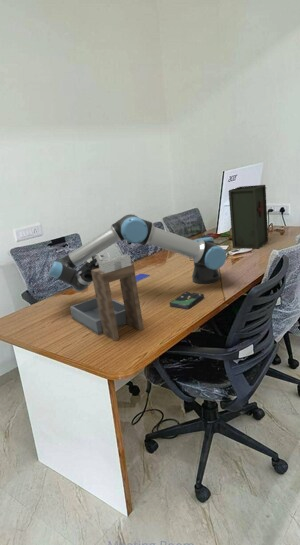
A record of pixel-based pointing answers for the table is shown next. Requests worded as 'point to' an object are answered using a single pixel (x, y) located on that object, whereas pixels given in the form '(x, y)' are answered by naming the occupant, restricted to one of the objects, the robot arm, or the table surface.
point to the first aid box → (248, 216)
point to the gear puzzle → (217, 236)
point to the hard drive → (141, 277)
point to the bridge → (106, 303)
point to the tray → (96, 314)
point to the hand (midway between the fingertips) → (104, 255)
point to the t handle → (113, 263)
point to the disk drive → (186, 300)
